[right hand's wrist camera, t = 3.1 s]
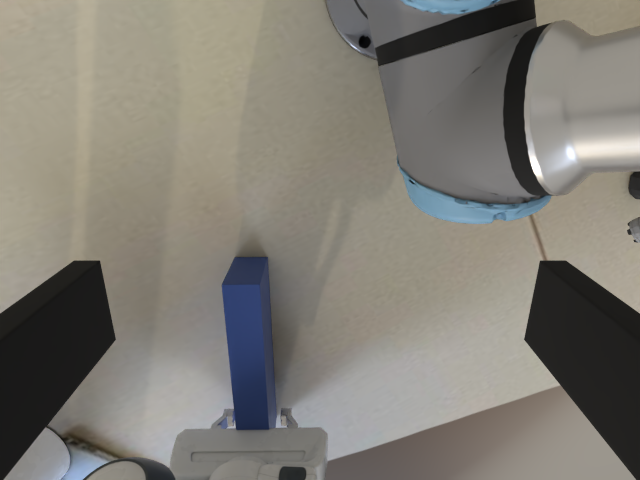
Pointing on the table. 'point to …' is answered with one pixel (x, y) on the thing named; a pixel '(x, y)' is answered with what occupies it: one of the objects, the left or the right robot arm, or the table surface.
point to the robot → (638, 190)
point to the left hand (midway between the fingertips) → (258, 411)
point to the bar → (250, 342)
